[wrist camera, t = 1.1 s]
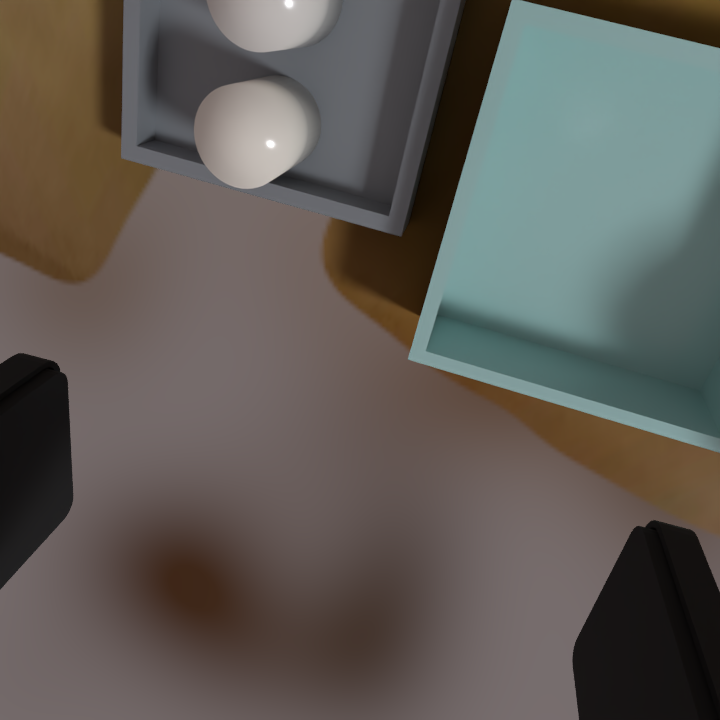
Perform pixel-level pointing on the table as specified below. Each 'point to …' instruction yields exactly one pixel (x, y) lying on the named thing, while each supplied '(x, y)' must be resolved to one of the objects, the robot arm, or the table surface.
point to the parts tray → (320, 77)
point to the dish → (589, 227)
